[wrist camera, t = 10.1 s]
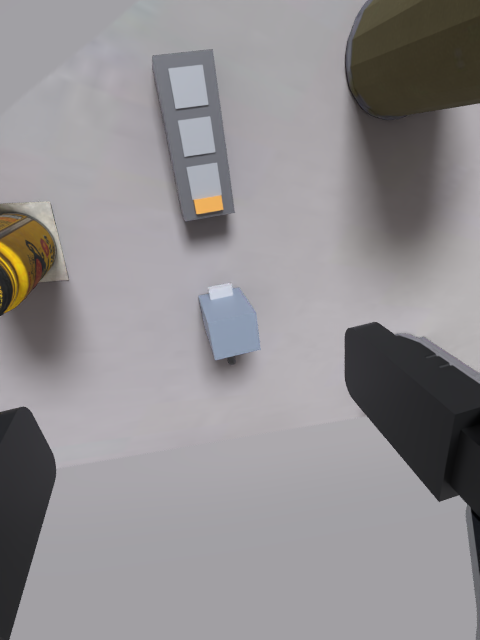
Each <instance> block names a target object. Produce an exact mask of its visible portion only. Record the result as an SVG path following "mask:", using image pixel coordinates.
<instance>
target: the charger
mask: <svg viewBox="0 0 480 640" xmlns="http://www.w3.org/2000/svg"><path fill="white" fill-rule="evenodd" d="M208 291H209V294H205V295H200V296H198V297H199V302H200V307H201V312H202V317H203V322H204V327H205V330H206V333H207V337H208V340H209V343H210V346H211V349H212V352H213V355H214V358H215V360H219V359H223V358H227V359H228V363H229V364H230V365H234V364H235V362H236V360H235V356H236V355H240V354H244V353H248V352H252V351H257V350H261V348H260V340H259V332H258V324H257V316H256V312H255V310H254V309H253V307H252V306H251V304H250V303H249V301H248V300H247V298H246V297H245V295H244V294H243V293H242V291H241V290H240V288H239V287H238V288H233V289H232V284H231V283H227V284H222V285H217V286H212V287H208Z"/></svg>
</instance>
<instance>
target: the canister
mask: <svg viewBox="0 0 480 640" xmlns="http://www.w3.org/2000/svg"><path fill="white" fill-rule="evenodd" d="M346 72H347V77H348V82H349V87H350V90H351V92H352V93H353V95H354V97H355V99H356V100H357V102H358V104H359V105H360V106H361V107H362V109H364V110H365V111H366V112H367V113H368V114H370V115H372V116H375V117H378V118H381V119H384V120H393V119H399V118H402V117H405V116H407V115H410V114H416V113H423V112H429V111H435V110H441V109H447V108H453V107H460V106H466V105H472V104H478V103H480V0H368V1H367V2H366V3H365V4H364V5H363V7H362V8H361V10H360V11H359V13H358V15H357V17H356V19H355V22H354V25H353V27H352V30H351V33H350V35H349V38H348V43H347V50H346Z"/></svg>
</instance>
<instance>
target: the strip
mask: <svg viewBox="0 0 480 640" xmlns="http://www.w3.org/2000/svg"><path fill="white" fill-rule="evenodd" d="M152 68H153V73H154V78H155V83H156V88H157V93H158V98H159V103H160V108H161V113H162V118H163V123H164V128H165V133H166V138H167V143H168V148H169V153H170V158H171V163H172V168H173V173H174V178H175V183H176V188H177V193H178V197H179V202H180V207H181V212H182V216H183V218H184V220H185V222H186V221H191V220H197V219H202V218H208V217H214V216H219V215H225V214H231V213H235V211H234V204H233V196H232V189H231V181H230V174H229V167H228V159H227V152H226V144H225V137H224V130H223V122H222V115H221V107H220V100H219V93H218V85H217V78H216V70H215V63H214V56H213V49H209V50H200V51H191V52H181V53H172V54H162V55H153V56H152Z"/></svg>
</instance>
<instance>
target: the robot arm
mask: <svg viewBox="0 0 480 640" xmlns="http://www.w3.org/2000/svg"><path fill="white" fill-rule="evenodd" d="M345 382H346V386H347V389H348V391H349V394H350V395H351V397H352V399H353V400H354V401H355V402H356V404H357V405H358V406H359V407H360V408H361V409H362V411H363V412H364V413H365V414H366V415H367V417H368V418H369V419H370V420H371V421H372V423H373V424H374V425H375V426H376V427H377V428H378V430H379V431H380V432H381V433H382V434H383V436H384V437H385V438H386V439H387V440H388V441H389V443H390V444H391V445H392V446H393V448H394V449H395V450H396V451H397V452H398V454H400V456H401V457H402V458H403V459H404V461H405V462H406V463H407V464H408V465H409V466H410V468H411V469H412V470H413V471H414V473H415V474H416V475H417V476H418V477H419V479H420V480H421V481H422V482H423V483H424V484H425V486H426V487H427V488H428V489H429V490H430V492H431V493H432V494H433V495H434V496H435V498H436V499H437V500H438V501H439V502H440V501H443V500H446V499H449V498H452V497H455V496H458V495H460V497H461V498H462V499H463V500H464V501H465V502H466V503H467V508H466V522H467V531H468V539H469V547H470V556H471V563H472V573H473V581H474V590H475V598H476V607H477V631H476V640H480V373H478V372H477V371H475V370H474V369H472V368H471V367H469V366H468V365H466V364H465V363H463V362H462V361H460V360H459V359H457V358H456V357H454V356H453V355H451V354H450V353H448V352H446V351H445V350H443V349H442V348H440V347H439V346H437V345H436V344H434V343H433V342H431V341H430V340H428V339H427V338H425V337H422V338H417V337H415V336H413V335H410V334H396V335H394V334H393V333H392V332H390V331H389V330H388V329H386V328H385V327H383V326H382V325H381V324H379V323H377V322H372V323H368V324H364V325H360V326H356V327H352V328H348V329H347V330H346V333H345ZM55 478H56V464H55V459H54V455H53V453H52V451H51V449H50V447H49V445H48V443H47V441H46V439H45V437H44V435H43V434H42V432H41V430H40V428H39V426H38V424H37V422H36V420H35V418H34V416H33V414H32V413H31V411H30V410H29V409H28V408H26V407H19V408H15V409H11V410H7V411H3V412H0V640H9V639H10V635H11V632H12V628H13V625H14V621H15V618H16V614H17V610H18V607H19V604H20V600H21V596H22V593H23V590H24V587H25V583H26V580H27V576H28V572H29V569H30V565H31V562H32V559H33V555H34V552H35V548H36V545H37V541H38V538H39V534H40V531H41V527H42V524H43V521H44V517H45V514H46V510H47V507H48V503H49V500H50V496H51V493H52V489H53V486H54V482H55Z"/></svg>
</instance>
